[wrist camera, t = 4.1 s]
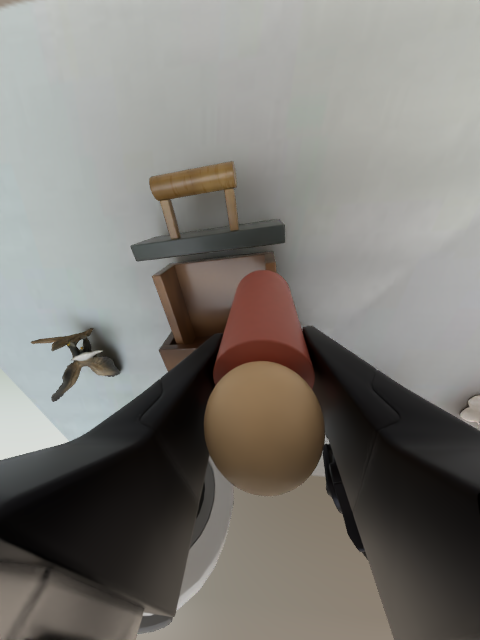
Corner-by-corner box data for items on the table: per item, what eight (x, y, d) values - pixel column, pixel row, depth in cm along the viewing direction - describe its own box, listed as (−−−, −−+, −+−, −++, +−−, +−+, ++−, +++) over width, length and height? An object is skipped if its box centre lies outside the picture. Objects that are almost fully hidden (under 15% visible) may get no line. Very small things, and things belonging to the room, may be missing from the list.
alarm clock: (239, 445, 37) (219, 649, 20) (234, 465, 41) (215, 650, 24) (126, 427, 38) (16, 611, 21) (132, 448, 42) (43, 618, 25)
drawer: (139, 187, 17) (104, 183, 13) (278, 161, 15) (283, 149, 12) (188, 337, 25) (174, 362, 21) (284, 331, 23) (288, 357, 19)
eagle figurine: (42, 327, 26) (60, 386, 29) (18, 354, 20) (44, 424, 23) (112, 320, 29) (122, 373, 32) (110, 340, 23) (122, 403, 26)
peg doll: (289, 266, 12) (361, 446, 3) (290, 317, 13) (341, 526, 5) (231, 273, 12) (159, 444, 4) (240, 321, 14) (203, 516, 5)
